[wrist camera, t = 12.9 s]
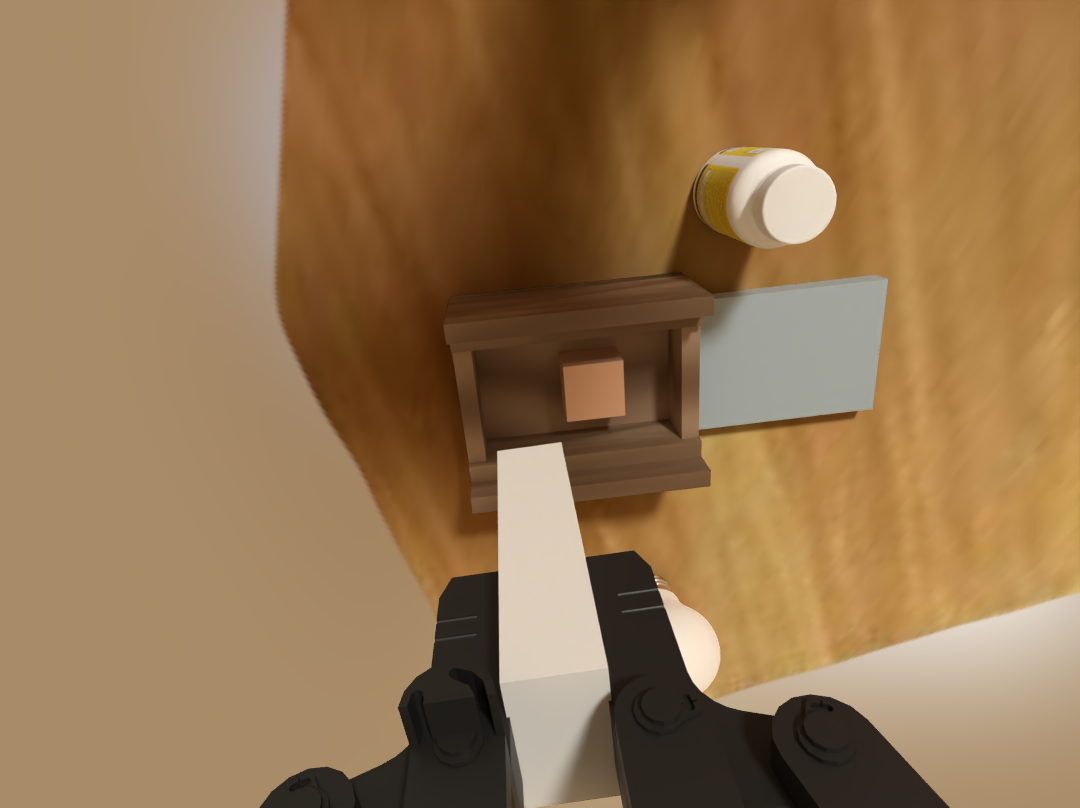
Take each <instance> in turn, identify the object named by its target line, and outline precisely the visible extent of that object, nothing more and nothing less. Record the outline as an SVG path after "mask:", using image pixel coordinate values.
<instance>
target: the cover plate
mask: <svg viewBox="0 0 1080 808" xmlns="http://www.w3.org/2000/svg"><path fill="white" fill-rule="evenodd" d="M887 284H888V279H886V278H884V277H881V276H878V275H871V276H862V277H853V278H845V279H836V280H827V281H819V282H810V283H801V284H793V285H784V286H775V287H767V288H758V289H749V290H741V291H732V292H723V293H715V294H712V295H714V316H706V317H703V326H700V385H699V430H701V429H709V428H717V427H726V426H734V425H742V424H751V423H759V422H768V421H776V420H784V419H793V418H801V417H809V416H818V415H826V414H834V413H843V412H851V411H859V410H868V409H872V408H873V400H874V392H875V383H876V375H877V367H878V359H879V350H880V342H881V334H882V326H883V317H884V309H885V301H886V292H887Z"/></svg>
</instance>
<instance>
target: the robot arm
mask: <svg viewBox="0 0 1080 808" xmlns="http://www.w3.org/2000/svg"><path fill="white" fill-rule="evenodd" d="M497 469H498V571H497V572H490V573H483V574H476V575H469V576H462V577H455V578H452V579H451V581H450V582H449V584H448V585H447V587H446V588H445V590H444V592H443V593H442V595H441V596H440V598H439V606H438V614H437V624H436V632H435V643H434V649H433V659H432V667H431V668H430V669H428V670H427V671H426V672H424V673H422V674H421V675H419V676H418V677H416V678H415V679H414V681H413V682H412V683H411V684H410V685H409V686H408V688H407V689H406V690H405V691H404V694H403V696H402V699H401V701H400V704H399V707H398V709H399V712H400V715H401V719H402V722H403V725H404V729H405V732H406V735H407V738H408V741H409V745H408V747H406V748H405V749H404V750H403V751H402V752H401V753H400V754H398V755H397V756H396V757H394V758H393V759H391V760H389V761H387V762H386V763H384V764H382V765H380V766H378V767H376V768H374V769H371V770H370V771H367V772H365V773H363V774H361V775H358V776H356V777H354V778H352V779H350V780H349V779H348V778H347V777H346V776H345V774H344V773H343V772H341V771H338V770H335V769H332V768H329V767H320V768H311V769H307V770H305V771H303V772H300V773H298V774H296V775H294V776H292V777H289V778H288V779H287V780H286V781H284V782H283V783H282V784H281V785H279V786H278V787H277V788H276V789H274V790H273V791H272V792H271V793H270V795H269V796H268V797H267V799H266V800H265V801H264V803H263V804H262V805H261V806H260V808H524V804H525V808H536V807H543V806H550V805H557V804H564V803H570V802H577V801H584V800H590V799H598V798H605V797H612V796H619V795H621V799H622V804H623V808H949V806H948V805H947V804H946V803H945V802H944V801H943V800H942V799H941V798H940V797H939V796H938V795H937V794H936V793H935V791H933V789H932V788H931V787H930V786H929V785H928V784H927V783H926V782H925V781H924V780H923V779H922V777H921V776H920V775H919V774H918V773H917V772H916V771H915V770H914V769H913V768H912V767H911V766H910V765H909V764H908V762H907V761H905V759H904V758H903V757H902V756H901V755H900V754H899V753H898V752H897V751H896V750H895V748H893V746H892V745H891V744H890V743H889V742H888V741H887V740H886V739H885V738H884V737H883V736H882V735H881V734H880V732H879V731H878V730H877V729H876V728H875V727H874V726H873V725H872V724H871V723H870V722H869V721H868V720H867V719H866V718H865V717H864V716H862V715H861V714H860V713H859V712H857V711H856V710H855V709H854V708H852V707H851V706H849V705H847V704H844V703H842V702H840V701H838V700H835V699H833V698H831V697H825V696H817V695H805V696H799V697H793V698H791V699H790V700H788V701H787V702H785V703H784V704H782V705H781V706H779V708H778V710H777V712H776V714H775V716H772V715H765V714H759V713H752V712H746V711H741V710H736V709H733V708H729V707H726V706H724V705H721V704H719V703H717V702H715V701H713V700H712V699H710V698H709V697H708V696H706V695H705V694H704V693H702V692H701V691H700V690H699V688H698V687H697V686H696V685H695V684H694V683H693V681H692V679H691V677H690V675H689V673H688V672H687V669H686V666H685V663H684V660H683V657H682V655H681V652H680V649H679V646H678V643H677V640H676V637H675V635H674V632H673V629H672V626H671V623H670V620H669V617H668V615H667V612H666V609H665V608H664V603H663V600H662V597H661V594H660V592H659V591H658V586H657V583H656V580H655V577H654V574H653V572H652V569H651V566H650V565H649V564H648V563H646V562H645V561H644V560H643V559H642V558H641V557H640V556H639V555H638V554H637V553H636V552H635V551H627V552H620V553H613V554H606V555H598V556H591V557H585V554H584V549H583V544H582V539H581V535H580V530H579V525H578V520H577V515H576V511H575V506H574V501H573V496H572V491H571V486H570V482H569V477H568V472H567V467H566V462H565V458H564V453H563V448H562V443H561V442H559V443H552V444H545V445H538V446H530V447H523V448H516V449H509V450H502V451H497Z"/></svg>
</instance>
